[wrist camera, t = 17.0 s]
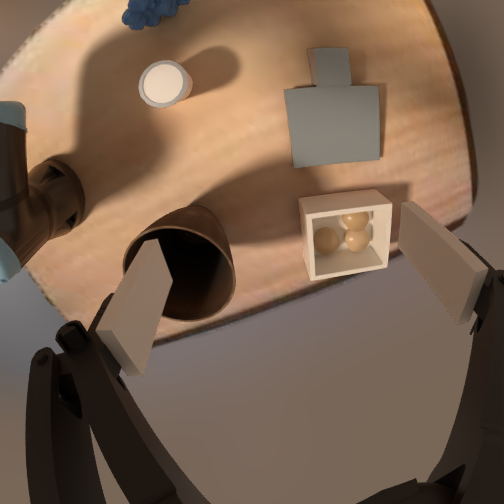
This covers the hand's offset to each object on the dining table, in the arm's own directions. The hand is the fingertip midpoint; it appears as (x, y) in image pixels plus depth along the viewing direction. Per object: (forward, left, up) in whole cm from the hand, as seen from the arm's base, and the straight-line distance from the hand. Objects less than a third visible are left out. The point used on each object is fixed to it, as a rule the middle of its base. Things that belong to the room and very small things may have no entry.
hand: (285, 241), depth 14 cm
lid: (+12, +5, -32) cm, 35 cm away
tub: (+12, -16, -32) cm, 37 cm away
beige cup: (-11, +12, -32) cm, 36 cm away
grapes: (-10, +26, -32) cm, 42 cm away
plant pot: (-13, -12, -32) cm, 36 cm away
